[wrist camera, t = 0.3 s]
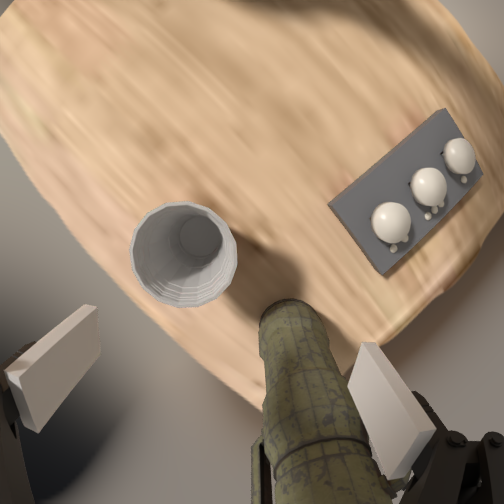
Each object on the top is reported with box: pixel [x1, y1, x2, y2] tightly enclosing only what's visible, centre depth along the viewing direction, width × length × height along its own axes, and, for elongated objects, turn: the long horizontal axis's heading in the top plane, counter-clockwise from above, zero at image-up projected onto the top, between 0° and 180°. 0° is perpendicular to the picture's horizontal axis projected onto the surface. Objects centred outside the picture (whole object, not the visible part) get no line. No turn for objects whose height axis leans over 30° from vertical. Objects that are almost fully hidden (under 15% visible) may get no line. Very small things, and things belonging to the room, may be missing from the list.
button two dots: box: [371, 202, 411, 243], centre depth 36 cm, size 5×5×4 cm
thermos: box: [251, 299, 412, 504], centre depth 26 cm, size 9×12×35 cm
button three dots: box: [409, 168, 447, 206], centre depth 35 cm, size 5×5×4 cm
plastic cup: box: [129, 201, 237, 308], centre depth 34 cm, size 11×11×12 cm
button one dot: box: [441, 138, 475, 174], centre depth 34 cm, size 5×5×4 cm
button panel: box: [327, 108, 483, 275], centre depth 37 cm, size 12×24×3 cm, turn 130°
